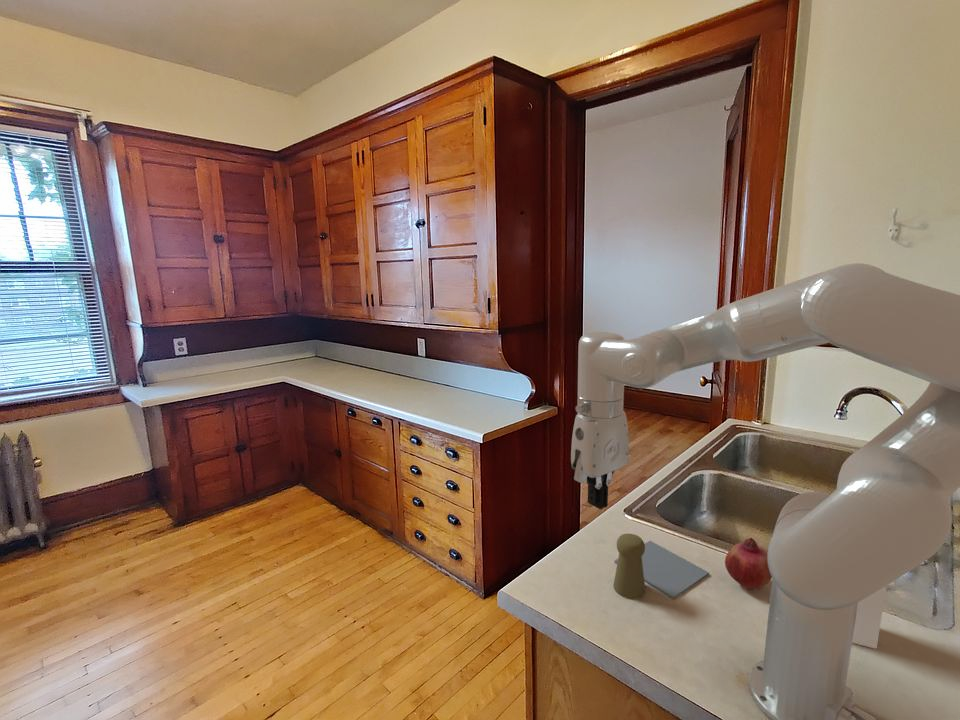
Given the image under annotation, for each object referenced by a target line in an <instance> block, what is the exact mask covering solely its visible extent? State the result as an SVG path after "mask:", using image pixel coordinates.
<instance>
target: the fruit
mask: <svg viewBox="0 0 960 720" xmlns="http://www.w3.org/2000/svg"><path fill="white" fill-rule="evenodd" d="M767 554H768V552H766V551H765V550H764V549H763V548H761V547H760V546H759V545H758V543H757V541H756V539H754V538H752V537H748V538H746V539H745V540H744V541H743V542H739V543H736V544H734V545H733V546H732V547H730V548H729V550H728V552H727V554H726V556H725V559H724V566H725V568H726V570H727V572H728V574H729V577H731V578H732V579H733V580H735V582H736V583H738V584H739V585H741V587H743V588H745V589H746V588H747V589H748V590H755V589H761V588H763V587H765V586H767V584H768V583H769V582H771V581H772V576H771V574H770V571H769V567H768V561H767Z"/></svg>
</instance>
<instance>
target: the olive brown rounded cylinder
mask: <svg viewBox="0 0 960 720" xmlns="http://www.w3.org/2000/svg"><path fill="white" fill-rule="evenodd" d="M616 550H617V552H618V557H617V559H618V563H617V564H616V569H615V574H614V579H613V589H614V591H615V593H616V594H617V595H619V596H621V597H622V598H625V599H628V600H629V599H630V600H637V599H641V598H642V597H644V596H645V595H646V585H645V584H646V582H644V573H643V564H642V556H643V554H644V551H645V542H644V539H642V537H640V536H639V535H637V534H634V533H623V534H621V535H620V536H619V537H618V538H617V540H616Z"/></svg>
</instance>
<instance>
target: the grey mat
mask: <svg viewBox="0 0 960 720" xmlns="http://www.w3.org/2000/svg"><path fill="white" fill-rule="evenodd" d="M644 544H645V551H644V554H643V556H642V564H643V573H644V582H645V584H647V585H649V586H651V587H653V588H654V589H655V590H656V591H659V592H660V593H661V594H664V596H666V597H668V598H670V599H671V600H675V599H676V598H678V597H680V596H681V595H682V594H683V593H685V592H686V591H688V590H689V589H690V588H692V587H694V586H696V584H698V583H700V582H701V581H702V580H704V579H705V578H707V577H709V575H710V572H709V571H707V570H705V569H704V568H702V567H700V566H697V565H696V564H695V563H692V562H690V561H688V560H687V559H685V558H683V557H681V556H679V555H677V554H675V553H674V552H672V551H670V550H668V549H667V548H664V547H663V546H661V545H659V544H657V543H655V542H653V541H651V540H649V541H647V542H644ZM617 563H618V558H616V559H615V560H614V564H616V565H617Z"/></svg>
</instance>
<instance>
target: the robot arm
mask: <svg viewBox="0 0 960 720" xmlns="http://www.w3.org/2000/svg"><path fill="white" fill-rule="evenodd" d="M828 343H829V344H831V345H833V346H835V347H837V348H840V349H842V350H845V351H847V352H849V353H852V354H854V355H857V356H859V357H862V358H864V359H866V360H869V361H871V362H875V363H876V364H877V363H878V364H880V365H883V366H886V367H889V368H892V369H894V370H896V371H899V372H902V373H904V374H907V375H910V376H911V377H912V376H913V377H915V378H917V379H920V380H924V381H926V382H929V384H928V386H927V388H926V389H925V390H924V392H923V393H922V395H920V396H919V398H918V399H917V400H916V401H914V402H913V404H912V405H911V406H910V407H909V408H907V409H906V410H905V411H904V412H903V413H902V414H901V415H900V416H899V417H897V418H896V419H895V420H893V422H892V423H890V424H889V425H888V426H887V427H886V428H884V429H883V430H882V431H881V432H879V434H877V435H876V436H875V437H873V438H872V439H871V440H870V441H868V442H867V443H865V444H864V445H863V446H861V447H860V448H859V449H857V450H856V451H855V452H853V453H852V454H851V455H849V456H848V457H847V458H846V460H845V461H844V462H843V464H841V467H840V471H839V473H838V477H837V483H836V489H835V490H834V491H833V492H832V493H831V494H830V493H828V492H827V493H826V492H822V491H808V492H804V493H800V494H797V495H795V496H794V497H792V498H791V499H790V500H788V501H787V502H786V503H785V505H784V506H783V508H781V511H780V512H779V514H778V518H777V520H776V523H775V526H774V529H773V533H772V536H771V539H770V542H769V545H768V549H767V561H768V567H769V571H770V574H771V576H772V578H771V587H770V596H769V606H768V607H769V608H768V615H767V625H766V626H767V627H766V633H765V634H766V635H765V644H764V645H765V646H764V655H763V660H762V661H759V662H757V663H756V664H755V665H754V666H753V667H752V668H751V671H750V672H749V680H748V683H749V690H750V693H751V696H752V697H753V699H754V701H755V703H756V704H757V705H758V706H759V708H760V709H761V710H762V711H763V712H764V713H765V715H766V716H767V717H768V718H769V719H771V720H877V718H876V717H874V716H873V715H871V714H870V713H868V712H867V711H864V710H862V709H860V708H858V707H857V706H856V703H854V702H853V701H852V698H853V692H854V691H853V689H852V688H850V687H848V686H847V680H848V671H849V664H850V658H851V651H852V644H853V643H852V639H853V632H854V626H855V621H856V614H857V607H858V602H860V601H862V600H863V599H865V598H867V597H868V596H870V595H872V594H873V593H875V592H877V591H878V590H880V589H882V588H883V587H885V586H886V585H887V586H888V585H889V584H892V583H893V582H894V581H896V580H897V579H900V578H901V577H902V576H905V574H907V573H908V572H911V571H912V570H914V569H916V567H918V566H920V565H922V564H923V563H924V562H926V561H927V560H929V559H930V558H931V557H932V556H934V555H935V554H936V553H937V552H938V551H939V550H940V548H941V547H942V546H943V545H944V544H945V543H946V541H947V538H949V535H950V532H951V529H952V523H953V516H952V515H953V514H952V508H951V505H950V502H949V500H950V498H951V496H952V495H953V494H954V493H956V491H957V490H959V489H960V294H957V293H953V292H949V291H946V290H944V289H943V290H942V289H939V288H935V287H932V286H929V285H926V284H922V283H919V282H915V281H913V280H910V279H909V280H908V279H905V278H903V277H900V276H897V275H894V274H892V273H888V272H886V271H885V270H883V269H881V268H879V267H877V266H875V265H872V264H868V263H861V262H859V263H857V262H856V263H849V264H843V265H840V266H837V267H833V268H830V269H828V270H825V271H821V272H819V273H816V274H812V275H809V276H806V277H804V278H800V279H798V280H795V281H792V282H788V283H786V284H782V285H780V286H777V287H775V288H771V289H769V290H765V291H762V292H760V293H756V294H753V295H751V296H748V297H745V298H741V299H739V300H736V301H733V302H731V303H727V304H725V305H723V306H722V307H720V308H718V309H717V310H714V311H712V312H710V313H707V314H704V315H701V316H698V317H695V318H692V319H689V320H686V321H682V322H680V323H677V324H675V325H671V326H668V327H665V328H662V329H659V330H658V329H657V330H655V331H652V332H650V333H646V334H644V335H641V336H639V337H635V338H631V339H625V338H624V337H623V336H622V335H621V334H618V333H614V332H606V331H605V332H602V331H601V332H599V331H597V332H588V333H585V334H583V335H582V336H581V337H580V338H579V341H578V347H577V348H578V352H577V353H578V354H577V355H578V356H577V358H578V359H577V405H576V406H575V407H574V408H575V411H576V413H577V414H576V415H575V418H574V424H573V428H572V429H573V430H572V437H571V450H570V462H571V463H570V464H571V468H572V470H574V476H573V480H574V481H576V482H578V483H585V484H587V503H588V504H589V505H591V506H593V507H595V508H597V509H599V510H602V509H604V508H607V507H608V501H609V500H608V499H609V486H610V485H611V484H612V476H613V475H614V473H615V471H616V470H619V469H621V468H623V467H625V466H626V465H627V464H628V462H629V455H630V452H629V451H630V446H629V445H630V441H629V440H630V439H629V425H628V418H627V415H626V411H624V400H625V396H624V395H625V386H628V387H631V388H638V389H646V388H652V387H653V386H655V385H657V384H659V383H660V382H662V381H664V380H665V379H666V378H668V377H670V376H671V375H673V374H676V373H679V372H681V371H686V370H690V369H692V368H697V367H700V366H703V365H707V364H712V363H717V362H721V361H722V362H724V361H733V360H734V361H739V362H745V363H749V362H757V361H761V360H766V359H770V358H774V357H777V356H781V355H785V354H788V353H794V352H797V351H800V350H804V349H808V348H812V347H817V346H820V345H825V344H828ZM887 586H886V587H887Z"/></svg>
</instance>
